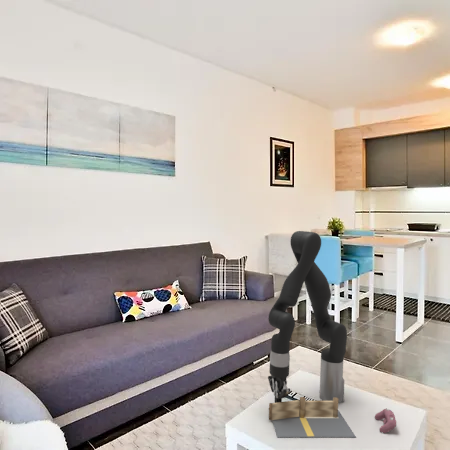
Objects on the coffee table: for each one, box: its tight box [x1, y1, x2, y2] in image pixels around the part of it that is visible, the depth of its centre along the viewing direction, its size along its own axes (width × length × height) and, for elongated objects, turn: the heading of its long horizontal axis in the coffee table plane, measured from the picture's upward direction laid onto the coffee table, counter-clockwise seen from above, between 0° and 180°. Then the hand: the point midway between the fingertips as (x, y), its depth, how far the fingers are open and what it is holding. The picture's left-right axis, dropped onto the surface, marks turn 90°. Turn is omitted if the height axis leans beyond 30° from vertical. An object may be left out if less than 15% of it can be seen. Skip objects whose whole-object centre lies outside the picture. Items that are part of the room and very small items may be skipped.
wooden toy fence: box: [299, 396, 339, 418], centre depth 139 cm, size 15×2×8 cm, turn 93°
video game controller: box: [374, 408, 397, 434], centre depth 135 cm, size 10×5×7 cm, turn 169°
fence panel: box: [268, 399, 300, 421], centre depth 137 cm, size 12×1×6 cm, turn 105°
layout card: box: [271, 409, 357, 439], centre depth 136 cm, size 28×18×1 cm, turn 93°
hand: (277, 405), depth 139 cm, fingers closed
